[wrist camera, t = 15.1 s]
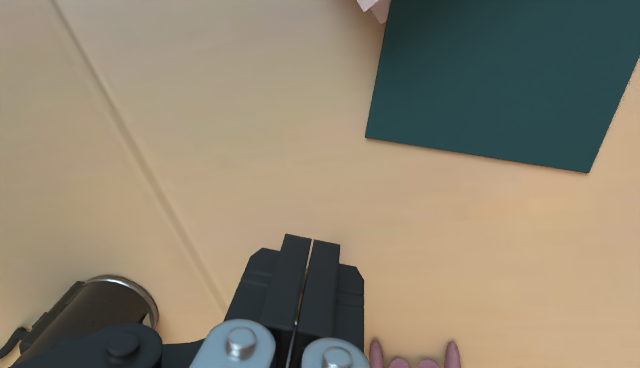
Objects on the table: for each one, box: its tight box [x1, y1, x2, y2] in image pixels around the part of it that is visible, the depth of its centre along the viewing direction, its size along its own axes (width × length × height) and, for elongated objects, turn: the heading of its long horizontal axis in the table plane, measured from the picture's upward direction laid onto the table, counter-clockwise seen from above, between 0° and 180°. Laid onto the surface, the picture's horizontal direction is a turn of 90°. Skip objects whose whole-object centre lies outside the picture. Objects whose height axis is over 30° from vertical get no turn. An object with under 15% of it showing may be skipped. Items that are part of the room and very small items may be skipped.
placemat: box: [365, 0, 640, 173], centre depth 35 cm, size 20×24×1 cm
